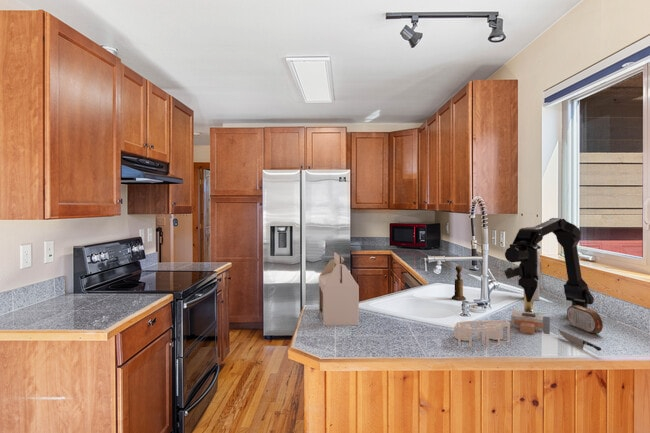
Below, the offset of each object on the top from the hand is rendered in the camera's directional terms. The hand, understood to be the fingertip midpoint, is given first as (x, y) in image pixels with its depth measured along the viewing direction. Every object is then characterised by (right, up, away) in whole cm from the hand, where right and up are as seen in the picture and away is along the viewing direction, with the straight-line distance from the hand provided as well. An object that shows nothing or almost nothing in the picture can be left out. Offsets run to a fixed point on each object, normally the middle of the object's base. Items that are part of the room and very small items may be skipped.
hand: (528, 301), depth 145 cm
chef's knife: (+5, -11, -21) cm, 24 cm away
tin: (+19, -11, -3) cm, 22 cm away
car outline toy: (-26, -11, -19) cm, 34 cm away
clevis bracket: (-2, -10, -2) cm, 11 cm away
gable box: (-74, -11, +5) cm, 75 cm away
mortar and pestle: (-12, -10, +41) cm, 44 cm away
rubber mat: (+3, -10, +5) cm, 12 cm away
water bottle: (+27, -10, +46) cm, 54 cm away
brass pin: (0, -4, 0) cm, 4 cm away
